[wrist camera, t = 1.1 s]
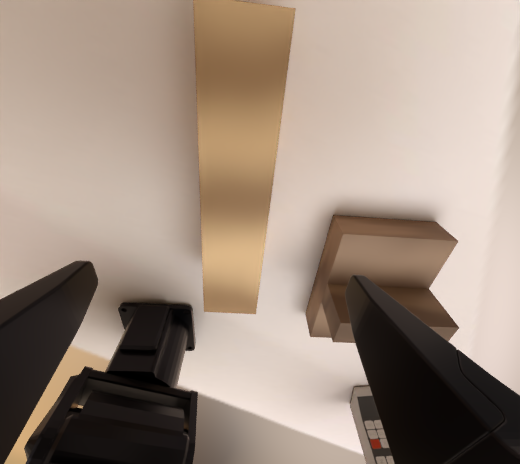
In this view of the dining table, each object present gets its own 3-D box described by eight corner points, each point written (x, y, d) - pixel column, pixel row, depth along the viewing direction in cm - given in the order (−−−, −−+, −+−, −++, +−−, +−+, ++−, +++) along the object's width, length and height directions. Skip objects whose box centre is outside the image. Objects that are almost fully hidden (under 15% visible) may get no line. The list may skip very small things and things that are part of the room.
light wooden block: (255, 266, 22) (255, 314, 18) (213, 263, 22) (204, 311, 17) (282, 26, 13) (295, 8, 9) (212, 18, 13) (193, -5, 9)
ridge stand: (384, 317, 25) (417, 379, 20) (305, 313, 25) (318, 377, 20) (436, 222, 19) (500, 277, 14) (333, 215, 19) (362, 269, 14)
